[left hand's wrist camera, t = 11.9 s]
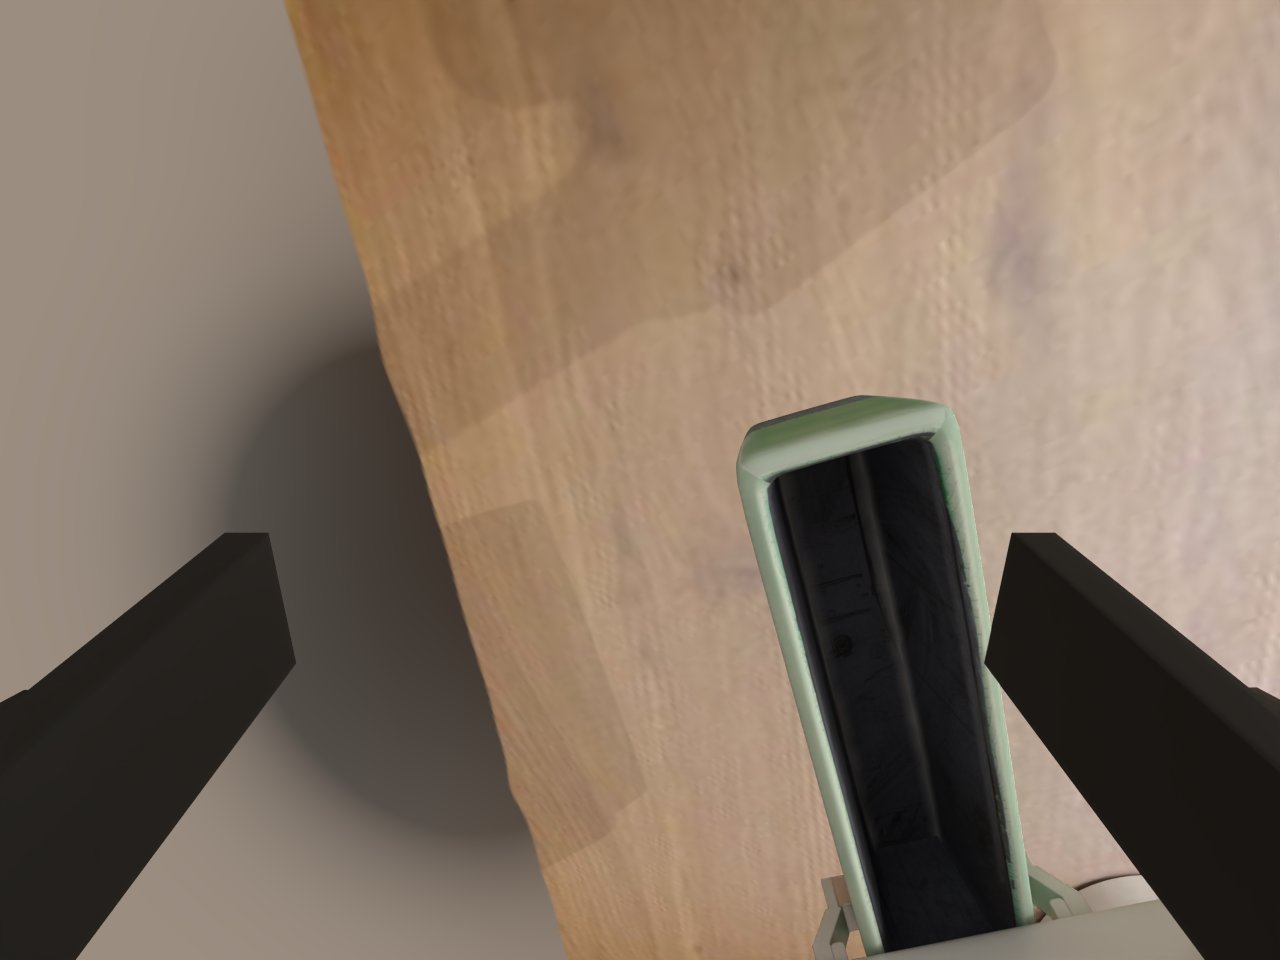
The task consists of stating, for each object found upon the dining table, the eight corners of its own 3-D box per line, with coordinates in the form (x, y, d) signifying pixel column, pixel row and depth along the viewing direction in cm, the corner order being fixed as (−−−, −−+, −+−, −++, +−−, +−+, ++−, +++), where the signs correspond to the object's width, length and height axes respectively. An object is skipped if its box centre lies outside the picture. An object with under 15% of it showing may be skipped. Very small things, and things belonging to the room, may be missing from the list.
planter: (711, 404, 29) (729, 464, 22) (886, 353, 28) (960, 399, 21) (842, 875, 38) (883, 1018, 32) (976, 848, 38) (1048, 988, 31)
